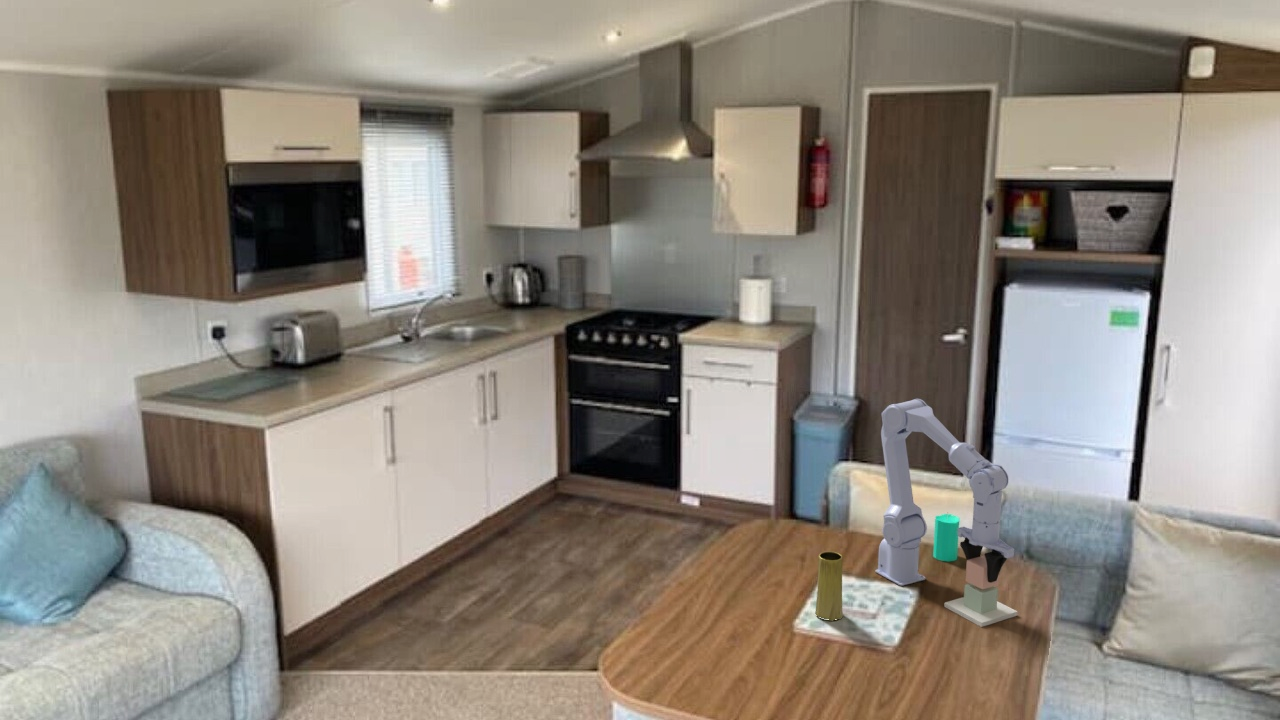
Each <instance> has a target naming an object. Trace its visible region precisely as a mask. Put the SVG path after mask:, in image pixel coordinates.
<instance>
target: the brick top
mask: <svg viewBox="0 0 1280 720" xmlns="http://www.w3.org/2000/svg"><path fill="white" fill-rule="evenodd" d="M965 568H966V569H965V582H967V583H968V584H969V583H971V584H973V585H975V586H977V587H979V588H981V589H986V588H989V587H993V586H994V587H996V586H999V585H1000V573H1001V571H1000V572H999V575H998V578H997V581H995V582H991V583H990V582H988V577H987V562H986V558H985V555H982V556H981V555H980V557H977V558H973V559H969V560H966V567H965Z"/></svg>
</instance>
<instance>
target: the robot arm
mask: <svg viewBox="0 0 1280 720" xmlns="http://www.w3.org/2000/svg"><path fill="white" fill-rule="evenodd" d="M881 420H882V426H881V430H880V436H881V446H882V451H883V452H882V453H883V460H884V467H885V473H886V475H885V477H886V483H887V489H888V497H889V507H888V508H887V509H886V511H885V512H884V514H883V525H882V529H881V530H882V534H883V535H882V536H883V539H882V540H881V542H880V543H879V547H878V560H877V561H878V562H877V564H878V565H877V569H875V573H877V574H879V575H880V576H882V577H884V578H886V579H888V580H889V581H891V582H893V583H894V584H897V585H898V586H901V587H904V586H906V585H910V584H913V583H917V582H921V581H925V580H926V577H925V576H924V575H923V574H920V573H919V559H920V558H919V557H920V543H922V538H923V537H924V536H925V535H926V533H927V530H928V526H927V523H926V522H927V521H926V520H925V517H924V516H923V512H922V508H921V507H920V506H918V505H917V504H916V503H915V501H914V495H913V488H912V480H911V474H910V473H911V472H910V465H909V457H908V451H907V450H908V449H907V443H906V439H907V438H908V436H909V435H910V434H912V432H913V433H914V432H916V433H923V434H924V435H926V436H927V437H928V438H929V439H931V440H932V441H933V442H934V443H936V444H937V445H938V446H939V447H940V448H942V449H943V450H944V451H945V452H947V454H948V461H949V462H950V463H951V464H952V465H953V466H954V467H956V469H957V470H958V471H959V472H960V473H961V474H962V475H963V476H964V477H966V478H967V479H968V482H969V487H970V490H971V491H972V498H973V510H972V511H973V512H972V525H971V526H972V527H971V528H968V527H966V526H961V527H960V526H959V528H958V531H957V536H958V538H964V540H962V541H960V544H959V545H960V548H961V549H962V551H963V553H964V556H965V559H966V561H967V560H969V559H973V558H977V557H980V556H981V555H982V551H983V547H985V548H986V549H989V550H991V551H989V552H985V553H984V556H985V558H986V562H987V577H988V582H990V583H991V582H995V581H997V578H998V575H999V572H1000V573H1001V571H1002V567H1003V566H1004V564H1005V563H1006V561H1007V560H1008V559H1010V558H1014V556H1015V548H1014V547H1011V546H1010V545H1008V544H1007V543H1006V542H1005V541H1003V540H1002V539H1001V538H1000V528H1001V515H1002V513H1001V512H1002V500H1003V490H1004V489H1006V488H1007V487H1008V484H1009V475H1008V473H1007V471H1006V470H1005V468H1004V467H1003V466H1002V465H1000V464H998V463H992V462H991V461H990V460H988V459H986V458H985V457H984V456H983V455H981V454H980V453H979V452H978V450H976V449H975V448H976V446H974V445H973V444H971V443H970V444H969V443H968V442H961V441H959V440H958V439H957V438H956V437H955V436H954V435H953V434H952V433H951V432H950V431H949V430H948V429H947V428H946V427H945V425H944V424H943V423H942V422H941V421H940V420H939V419H938V418H937V417H936V416H935V415H934V411H933V408H932V407H931V406H929V405H928V404H927V403H926V402H925V401H924V400H923V399H921V398H915V399H912V400H908V401H904V402H899V403H893V404H890V405H888V406H887V407H886V408H885V409H884V410H883V411H882V412H881Z"/></svg>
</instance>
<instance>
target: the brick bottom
mask: <svg viewBox="0 0 1280 720" xmlns="http://www.w3.org/2000/svg"><path fill="white" fill-rule="evenodd" d="M998 595H999V588H998V587H996V586H993V587H989V588H986V589H981V588H979V587H977V586H975V585H973V584H971V583H969V582H968V583H967V584H964V592H963V597H964V606H966V607H968V608H970V609H971V610H973V611H975V612H977V613H979V614H983V613H986V612H989V611H993V610H996V609H997V601H998Z"/></svg>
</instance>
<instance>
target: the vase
mask: <svg viewBox="0 0 1280 720" xmlns="http://www.w3.org/2000/svg"><path fill="white" fill-rule="evenodd" d="M817 558H818V559H817V561H818V563H817V593H816V602H815V604H816V606H815V612H814V614H816V615H817V616H818V617H821V618H824V619H829V620H835V619H839V620H841V619H842V618H843V616H844V613H843V560H844V559H843V555H842V554H841V553H839V552H836V551H833V550H832V551H829V550H827V551H826V550H825V551H822V552H820V553H819V554H818V557H817ZM816 615H815V616H816ZM817 616H816V617H817ZM818 617H817V618H818ZM841 617H842V618H841ZM840 618H841V619H840Z"/></svg>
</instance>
